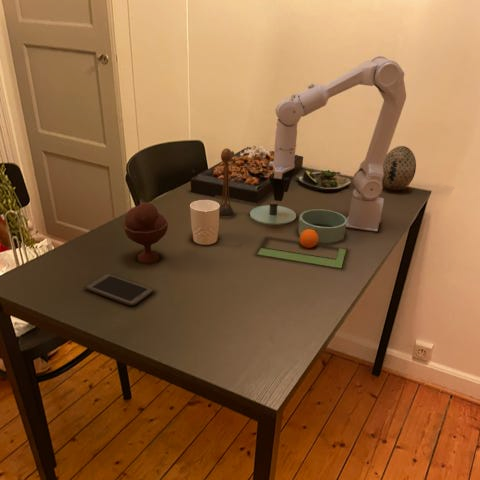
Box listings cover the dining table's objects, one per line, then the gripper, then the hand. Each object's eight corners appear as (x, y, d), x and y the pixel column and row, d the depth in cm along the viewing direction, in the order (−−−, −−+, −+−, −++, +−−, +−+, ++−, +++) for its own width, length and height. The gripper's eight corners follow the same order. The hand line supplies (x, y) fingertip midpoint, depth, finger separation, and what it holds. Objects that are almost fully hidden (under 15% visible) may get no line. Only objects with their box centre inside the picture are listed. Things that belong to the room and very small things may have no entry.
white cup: (215, 247, 127) (215, 212, 121) (187, 244, 128) (186, 209, 122) (222, 235, 133) (222, 201, 127) (195, 232, 134) (194, 198, 128)
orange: (313, 253, 128) (320, 238, 129) (315, 244, 123) (321, 228, 124) (296, 247, 129) (302, 232, 130) (297, 239, 124) (303, 223, 125)
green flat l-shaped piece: (346, 250, 128) (346, 249, 127) (341, 268, 119) (341, 267, 119) (267, 238, 132) (267, 237, 132) (257, 255, 124) (257, 254, 123)
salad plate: (321, 171, 183) (323, 159, 180) (360, 183, 173) (362, 171, 170) (289, 182, 172) (290, 169, 169) (328, 195, 161) (330, 182, 159)
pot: (346, 228, 139) (349, 212, 137) (341, 247, 129) (344, 230, 126) (302, 222, 142) (304, 206, 139) (294, 240, 132) (295, 223, 129)
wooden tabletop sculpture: (225, 209, 148) (226, 144, 137) (237, 213, 146) (239, 147, 135) (214, 215, 144) (215, 148, 133) (227, 219, 142) (228, 151, 131)
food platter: (245, 158, 194) (246, 132, 188) (302, 167, 186) (305, 140, 180) (190, 191, 161) (190, 161, 155) (256, 205, 152) (258, 173, 146)
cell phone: (107, 275, 112) (107, 273, 112) (154, 292, 107) (153, 289, 106) (85, 289, 107) (84, 286, 107) (132, 307, 102) (132, 304, 101)
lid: (299, 212, 149) (301, 197, 146) (290, 229, 137) (292, 214, 135) (256, 206, 152) (257, 191, 149) (244, 222, 141) (244, 207, 138)
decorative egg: (372, 190, 167) (380, 147, 158) (382, 181, 175) (391, 140, 166) (405, 197, 162) (415, 153, 153) (414, 188, 170) (424, 145, 162)
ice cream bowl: (176, 252, 124) (173, 197, 115) (157, 271, 115) (152, 213, 106) (140, 245, 126) (135, 190, 118) (118, 263, 118) (111, 206, 109)
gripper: (276, 139, 134) (273, 186, 142) (264, 152, 123) (261, 202, 131) (300, 142, 133) (296, 189, 141) (291, 155, 122) (286, 206, 129)
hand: (281, 195), depth 136 cm, fingers open, 7 cm apart
